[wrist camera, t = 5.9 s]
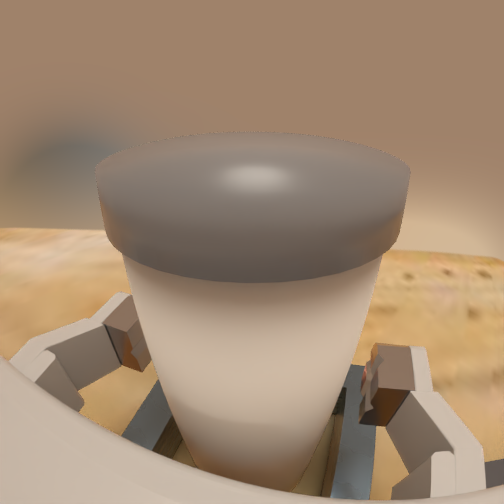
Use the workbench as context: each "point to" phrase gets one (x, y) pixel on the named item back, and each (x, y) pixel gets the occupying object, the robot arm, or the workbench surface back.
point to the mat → (494, 473)
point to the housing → (341, 450)
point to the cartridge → (252, 282)
